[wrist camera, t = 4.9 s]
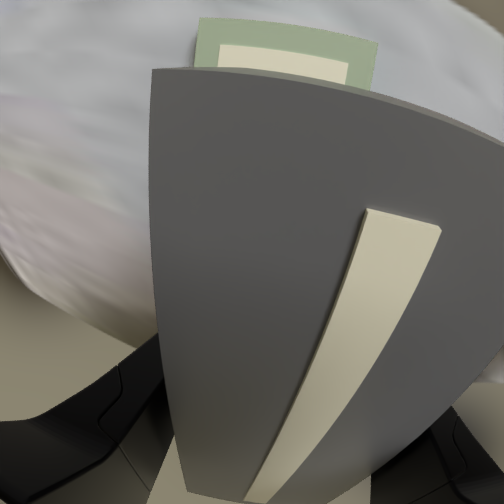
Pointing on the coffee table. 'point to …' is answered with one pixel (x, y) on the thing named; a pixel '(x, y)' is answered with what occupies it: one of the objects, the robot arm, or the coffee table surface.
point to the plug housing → (315, 275)
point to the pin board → (285, 50)
